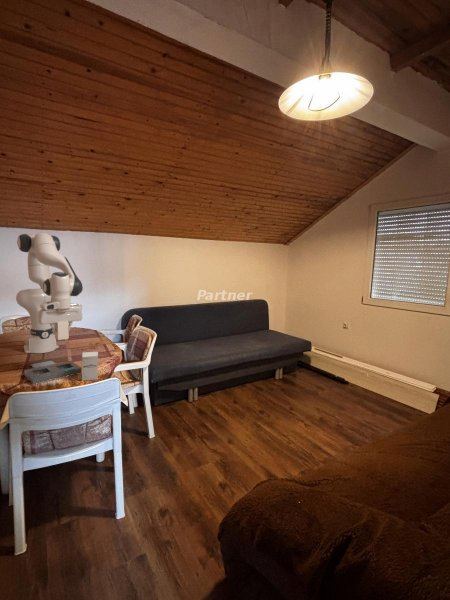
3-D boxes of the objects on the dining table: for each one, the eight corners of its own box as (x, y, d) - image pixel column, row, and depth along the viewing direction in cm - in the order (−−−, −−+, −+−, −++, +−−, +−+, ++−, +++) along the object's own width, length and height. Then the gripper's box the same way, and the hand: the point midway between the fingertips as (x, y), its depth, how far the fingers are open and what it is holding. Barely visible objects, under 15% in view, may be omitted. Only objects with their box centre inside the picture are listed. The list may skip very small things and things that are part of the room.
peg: (54, 338, 154) (54, 320, 153) (65, 336, 158) (64, 319, 156) (58, 340, 151) (57, 322, 149) (68, 338, 154) (68, 321, 153)
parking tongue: (31, 366, 161) (31, 364, 161) (51, 362, 168) (51, 360, 168) (36, 371, 155) (36, 369, 155) (57, 367, 162) (57, 364, 162)
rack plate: (24, 375, 149) (24, 369, 148) (70, 365, 165) (70, 360, 164) (33, 384, 139) (32, 378, 139) (81, 373, 156) (81, 367, 155)
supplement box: (81, 381, 146) (81, 356, 144) (82, 375, 153) (82, 352, 151) (97, 379, 149) (98, 355, 147) (97, 374, 156) (97, 351, 154)
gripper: (79, 302, 162) (79, 327, 163) (36, 305, 147) (37, 332, 148) (84, 303, 157) (84, 329, 159) (40, 306, 142) (41, 334, 144)
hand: (61, 330), depth 154 cm, fingers closed on peg, 5 cm apart
